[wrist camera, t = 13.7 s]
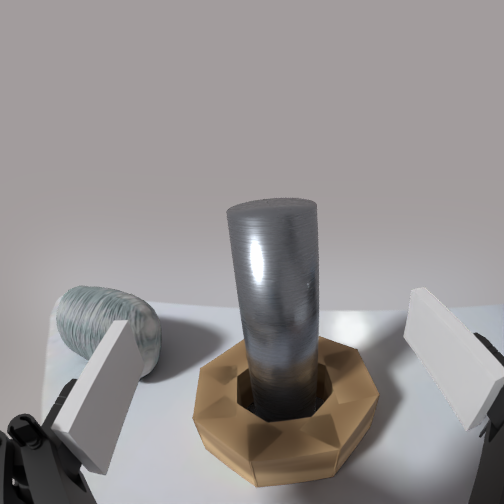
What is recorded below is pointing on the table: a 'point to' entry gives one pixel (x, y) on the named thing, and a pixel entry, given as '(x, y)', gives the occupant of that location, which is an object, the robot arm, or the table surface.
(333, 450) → the brown thick faceted ring
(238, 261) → the rod
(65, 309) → the grey yarn skein
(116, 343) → the robot arm
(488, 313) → the table surface
